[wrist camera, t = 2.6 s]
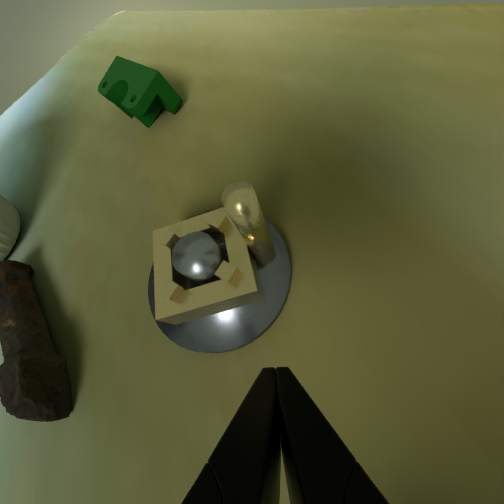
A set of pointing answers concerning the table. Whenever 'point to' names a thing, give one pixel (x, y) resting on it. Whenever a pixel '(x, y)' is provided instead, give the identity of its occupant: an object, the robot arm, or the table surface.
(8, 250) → the canister
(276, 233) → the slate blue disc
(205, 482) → the robot arm
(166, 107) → the green mounting bracket
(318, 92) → the table surface
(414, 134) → the table surface
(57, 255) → the table surface
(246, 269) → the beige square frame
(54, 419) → the dark brown log
